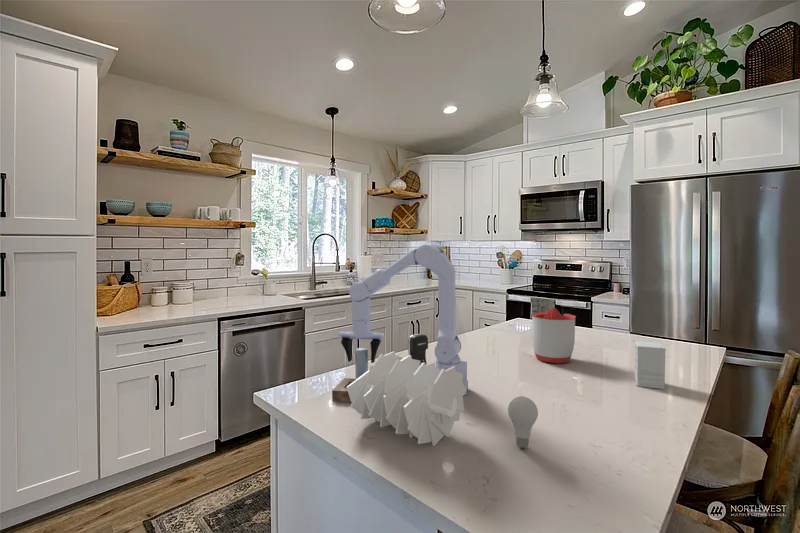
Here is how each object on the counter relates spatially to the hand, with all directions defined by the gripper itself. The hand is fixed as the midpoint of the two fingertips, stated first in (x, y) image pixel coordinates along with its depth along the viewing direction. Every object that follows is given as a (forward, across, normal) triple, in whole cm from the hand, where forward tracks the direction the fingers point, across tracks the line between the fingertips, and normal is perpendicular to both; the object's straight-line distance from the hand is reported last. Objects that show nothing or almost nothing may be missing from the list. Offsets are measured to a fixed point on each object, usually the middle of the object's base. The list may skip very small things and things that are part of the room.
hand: (361, 361), depth 130 cm
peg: (+6, 0, 0) cm, 6 cm away
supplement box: (+6, -89, -12) cm, 90 cm away
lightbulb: (+6, -46, +36) cm, 59 cm away
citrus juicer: (+6, -65, -36) cm, 75 cm away
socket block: (+6, -2, +13) cm, 15 cm away
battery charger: (+6, -16, -18) cm, 25 cm away
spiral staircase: (+6, -21, +33) cm, 39 cm away
